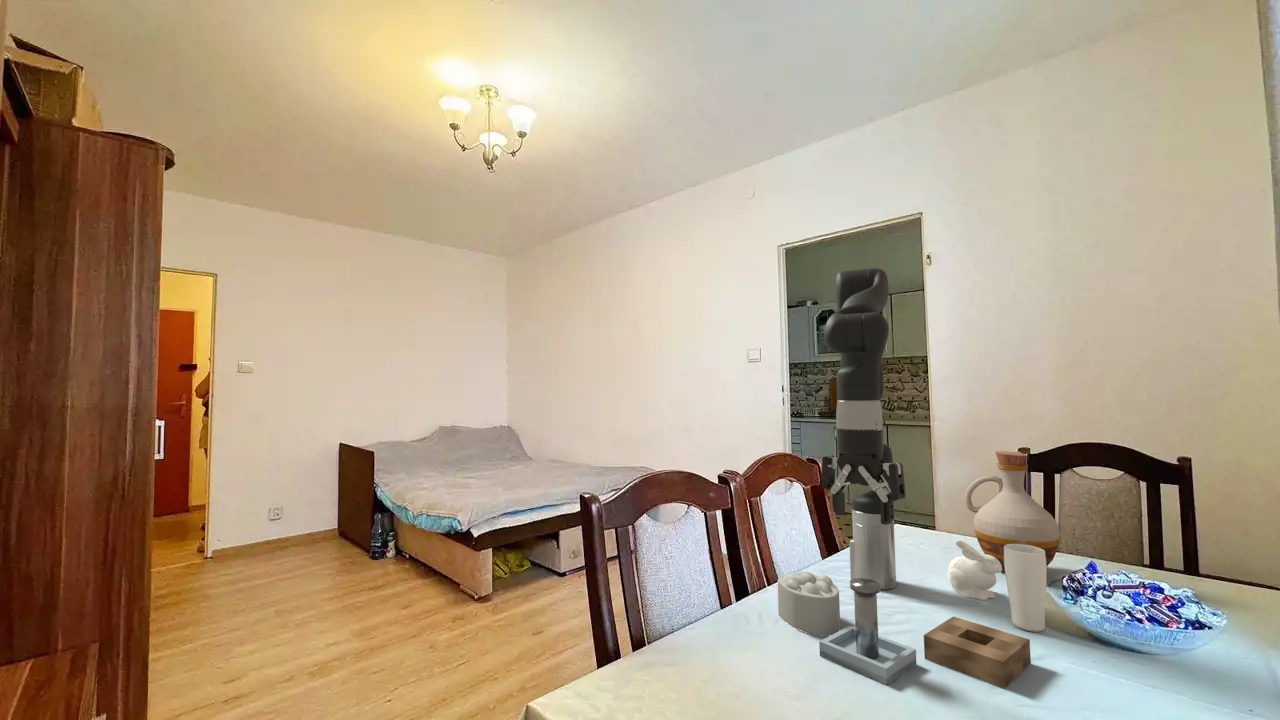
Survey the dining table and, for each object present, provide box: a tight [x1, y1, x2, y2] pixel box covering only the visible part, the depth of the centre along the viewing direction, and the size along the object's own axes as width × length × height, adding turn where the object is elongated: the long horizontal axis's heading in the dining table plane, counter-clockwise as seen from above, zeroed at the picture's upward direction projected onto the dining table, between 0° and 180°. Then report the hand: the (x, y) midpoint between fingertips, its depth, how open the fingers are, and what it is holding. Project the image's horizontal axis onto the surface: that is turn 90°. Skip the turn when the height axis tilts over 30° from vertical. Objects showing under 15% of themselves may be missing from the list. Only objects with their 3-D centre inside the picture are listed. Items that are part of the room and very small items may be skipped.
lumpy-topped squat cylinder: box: [777, 571, 841, 637], centre depth 108 cm, size 10×13×9 cm
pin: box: [849, 578, 881, 659], centre depth 93 cm, size 5×5×12 cm
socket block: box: [923, 616, 1032, 689], centre depth 92 cm, size 12×12×4 cm
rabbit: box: [947, 540, 1002, 601], centre depth 122 cm, size 12×9×12 cm
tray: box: [818, 625, 917, 686], centre depth 92 cm, size 12×10×2 cm
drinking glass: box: [1004, 544, 1048, 633], centre depth 105 cm, size 7×7×15 cm
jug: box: [964, 450, 1061, 575], centre depth 136 cm, size 20×18×30 cm
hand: (862, 519), depth 94 cm, fingers open, 8 cm apart
